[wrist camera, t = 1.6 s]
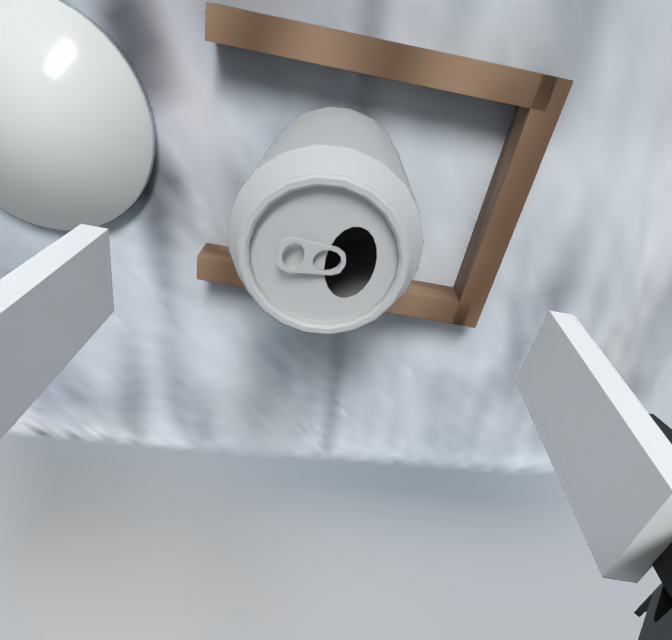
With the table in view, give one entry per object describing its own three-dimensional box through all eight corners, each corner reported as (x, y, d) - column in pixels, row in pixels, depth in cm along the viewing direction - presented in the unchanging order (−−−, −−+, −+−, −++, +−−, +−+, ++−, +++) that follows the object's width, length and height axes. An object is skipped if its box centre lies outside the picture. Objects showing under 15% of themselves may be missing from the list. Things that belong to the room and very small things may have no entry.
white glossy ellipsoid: (-44, 205, 29) (-54, 209, 28) (-103, -40, 23) (-117, -42, 22) (157, 241, 30) (153, 246, 29) (154, 14, 23) (148, 14, 23)
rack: (205, 264, 30) (196, 278, 29) (217, 4, 23) (206, 2, 21) (468, 311, 31) (475, 327, 30) (557, 77, 24) (573, 80, 23)
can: (378, 250, 29) (392, 369, 19) (258, 221, 29) (206, 327, 18) (418, 125, 26) (463, 189, 15) (281, 86, 25) (231, 127, 15)
